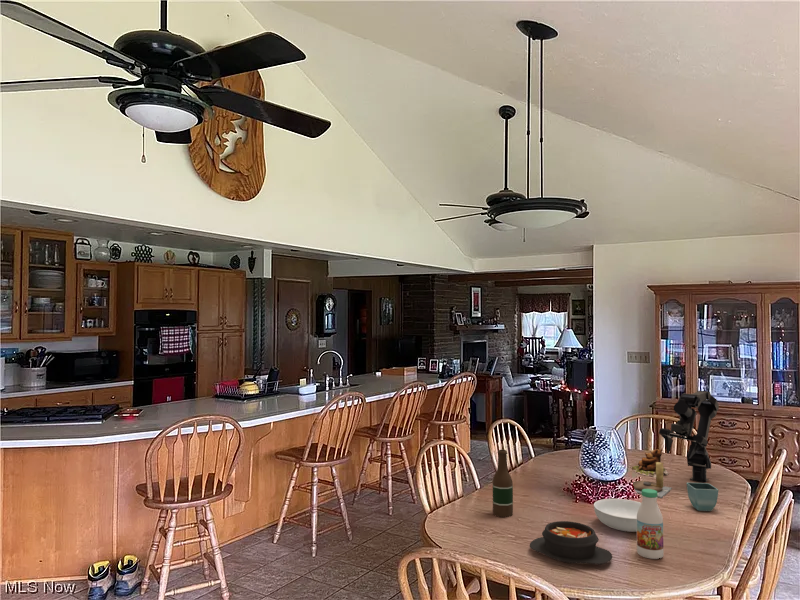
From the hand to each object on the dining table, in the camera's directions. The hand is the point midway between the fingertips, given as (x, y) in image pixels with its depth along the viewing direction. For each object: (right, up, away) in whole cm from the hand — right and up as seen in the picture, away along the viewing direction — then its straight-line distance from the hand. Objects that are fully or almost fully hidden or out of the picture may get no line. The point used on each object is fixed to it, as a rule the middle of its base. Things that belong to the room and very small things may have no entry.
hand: (678, 455), depth 248 cm
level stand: (-13, -15, 0) cm, 20 cm away
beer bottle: (-81, -14, -30) cm, 87 cm away
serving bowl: (-40, -14, -43) cm, 60 cm away
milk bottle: (-41, -13, -67) cm, 79 cm away
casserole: (-66, -13, -68) cm, 96 cm away
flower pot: (-2, -14, -25) cm, 29 cm away
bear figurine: (0, -16, +27) cm, 31 cm away
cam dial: (-13, -15, 0) cm, 20 cm away
